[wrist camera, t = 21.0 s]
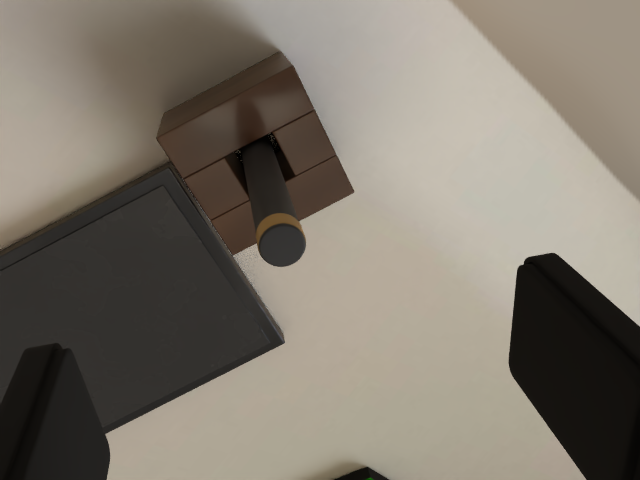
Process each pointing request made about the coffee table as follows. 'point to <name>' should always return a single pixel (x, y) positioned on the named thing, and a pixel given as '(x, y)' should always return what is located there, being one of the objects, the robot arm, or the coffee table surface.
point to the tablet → (133, 298)
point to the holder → (242, 129)
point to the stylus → (271, 206)
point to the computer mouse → (363, 475)
